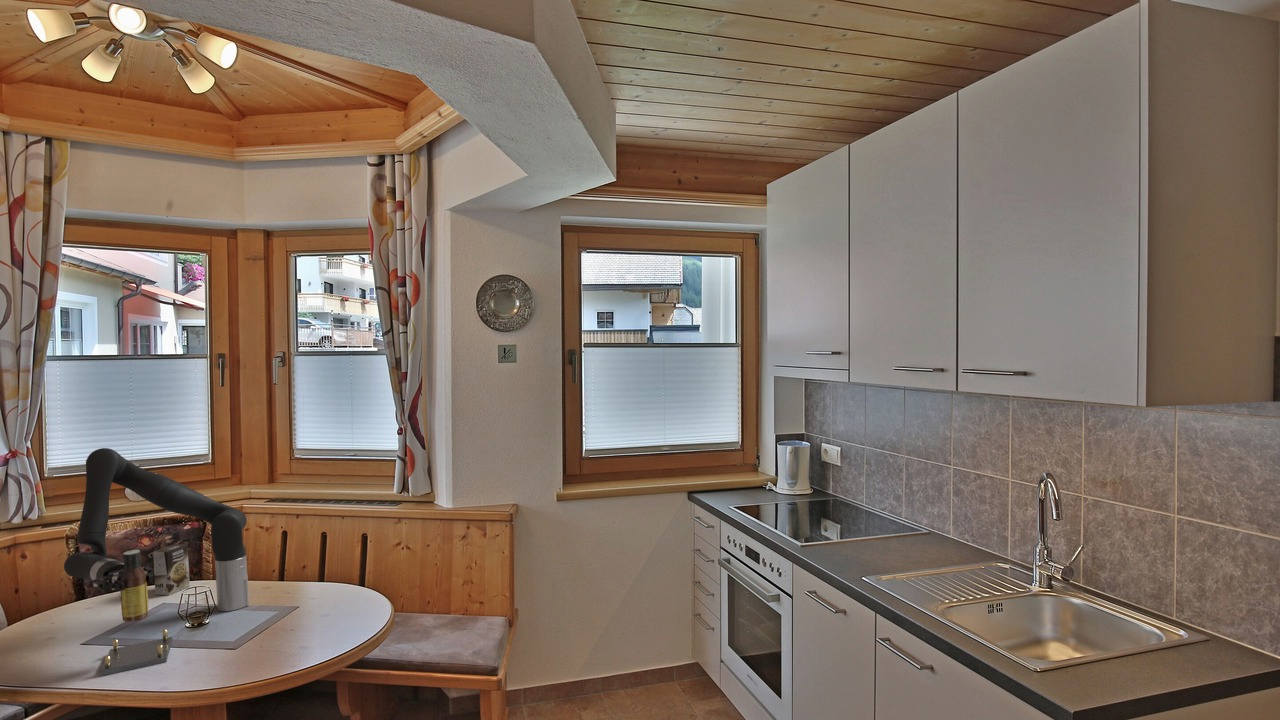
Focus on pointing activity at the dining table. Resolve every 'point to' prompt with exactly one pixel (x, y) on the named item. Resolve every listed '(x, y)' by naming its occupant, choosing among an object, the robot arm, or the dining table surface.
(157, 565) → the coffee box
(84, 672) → the dining table surface
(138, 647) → the standoff plate
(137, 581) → the sauce bottle
